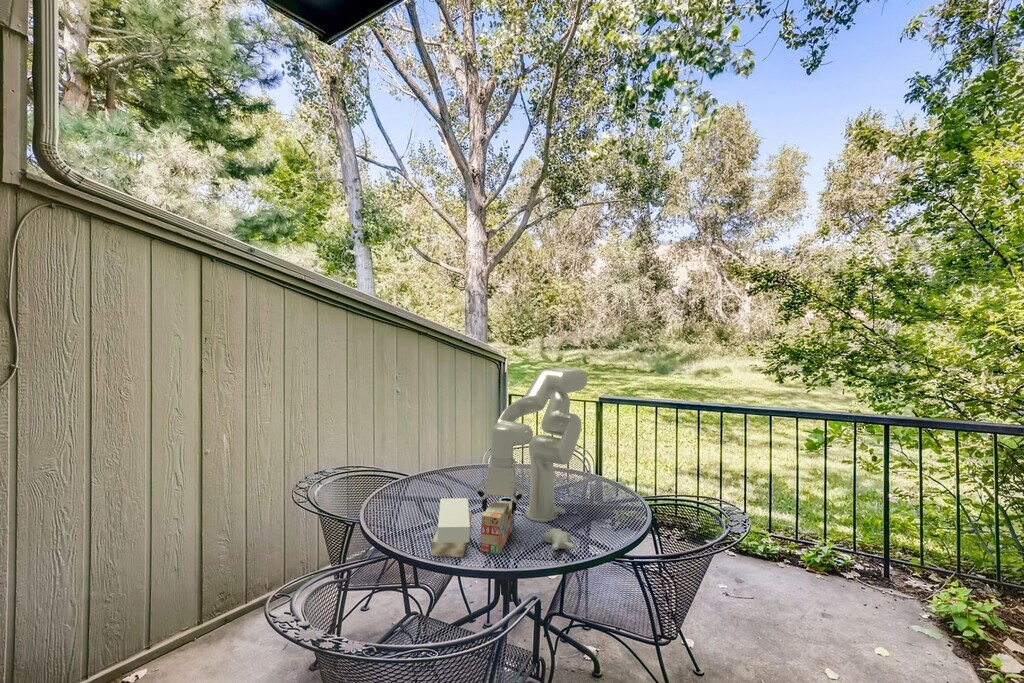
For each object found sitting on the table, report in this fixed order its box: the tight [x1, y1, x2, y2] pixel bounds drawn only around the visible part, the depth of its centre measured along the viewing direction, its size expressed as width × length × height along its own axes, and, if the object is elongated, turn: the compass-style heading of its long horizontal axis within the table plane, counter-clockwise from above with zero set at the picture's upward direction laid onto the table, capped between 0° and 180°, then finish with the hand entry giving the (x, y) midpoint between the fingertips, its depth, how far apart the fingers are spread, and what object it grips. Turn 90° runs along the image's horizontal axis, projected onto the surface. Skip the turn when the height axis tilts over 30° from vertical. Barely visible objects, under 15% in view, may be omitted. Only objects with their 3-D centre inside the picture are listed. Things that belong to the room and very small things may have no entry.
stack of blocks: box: [480, 500, 516, 555], centre depth 155 cm, size 21×6×12 cm, turn 166°
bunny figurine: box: [542, 528, 576, 551], centre depth 151 cm, size 10×5×15 cm
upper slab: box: [437, 497, 471, 543], centre depth 154 cm, size 10×24×5 cm, turn 7°
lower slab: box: [431, 511, 472, 558], centre depth 154 cm, size 10×24×5 cm, turn 179°
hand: (498, 511), depth 154 cm, fingers open, 9 cm apart
